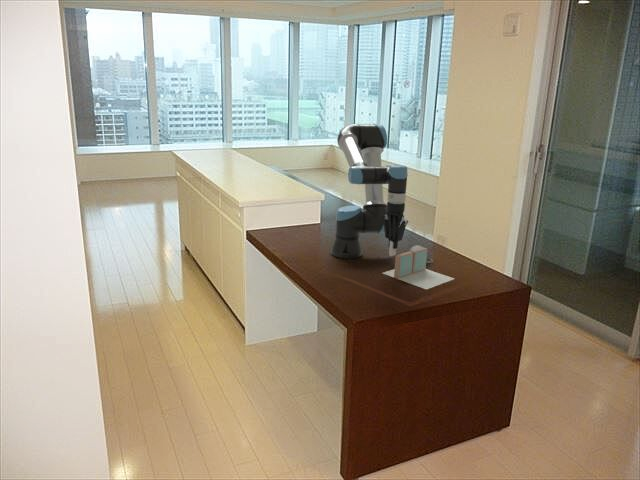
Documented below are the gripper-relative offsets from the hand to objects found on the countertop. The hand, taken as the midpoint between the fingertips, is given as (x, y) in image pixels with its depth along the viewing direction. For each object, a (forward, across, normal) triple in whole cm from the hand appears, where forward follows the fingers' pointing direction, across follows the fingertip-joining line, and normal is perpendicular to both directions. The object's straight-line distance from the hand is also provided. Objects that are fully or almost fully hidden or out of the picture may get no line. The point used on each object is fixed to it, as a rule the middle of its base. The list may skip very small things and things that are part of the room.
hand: (392, 255), depth 230 cm
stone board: (+9, +10, +6) cm, 15 cm away
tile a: (+8, +6, 0) cm, 10 cm away
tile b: (+8, +6, +10) cm, 14 cm away
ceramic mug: (+9, -2, +23) cm, 25 cm away
